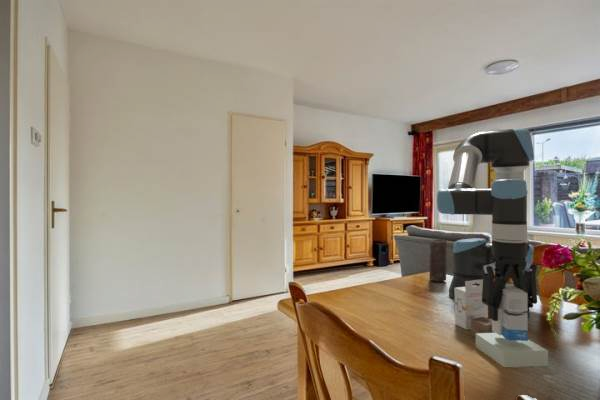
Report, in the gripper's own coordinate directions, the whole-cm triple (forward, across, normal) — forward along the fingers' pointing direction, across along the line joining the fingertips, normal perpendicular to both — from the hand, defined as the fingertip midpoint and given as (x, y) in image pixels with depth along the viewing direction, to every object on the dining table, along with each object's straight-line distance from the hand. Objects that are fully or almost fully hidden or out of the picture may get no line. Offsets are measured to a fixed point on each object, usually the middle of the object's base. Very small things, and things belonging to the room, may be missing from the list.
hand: (509, 331), depth 83 cm
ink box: (+1, 0, 0) cm, 1 cm away
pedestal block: (+6, 0, 0) cm, 6 cm away
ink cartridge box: (+6, -3, -20) cm, 21 cm away
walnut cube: (+6, -1, -10) cm, 12 cm away
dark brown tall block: (+6, -22, -72) cm, 75 cm away
